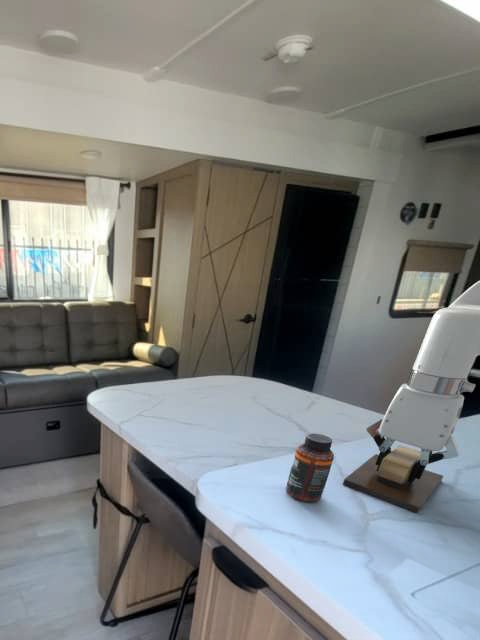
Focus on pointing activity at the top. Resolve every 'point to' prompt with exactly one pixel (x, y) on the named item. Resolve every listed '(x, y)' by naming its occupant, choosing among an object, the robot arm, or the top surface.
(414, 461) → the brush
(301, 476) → the supplement bottle
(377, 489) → the board
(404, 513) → the top surface
